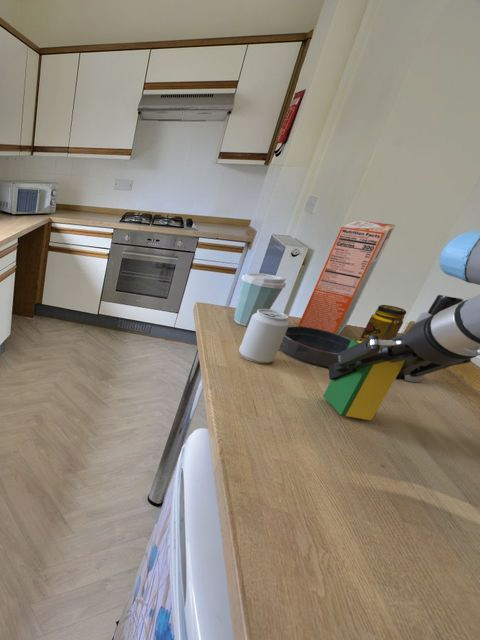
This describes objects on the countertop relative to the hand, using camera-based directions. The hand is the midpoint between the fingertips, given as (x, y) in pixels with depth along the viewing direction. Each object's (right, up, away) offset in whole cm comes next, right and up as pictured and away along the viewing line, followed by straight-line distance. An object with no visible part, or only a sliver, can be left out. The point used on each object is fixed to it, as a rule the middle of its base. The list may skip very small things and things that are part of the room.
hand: (347, 375), depth 82 cm
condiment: (+32, +4, +27) cm, 42 cm away
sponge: (-1, -6, -1) cm, 7 cm away
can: (-5, +3, +19) cm, 20 cm away
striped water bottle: (+26, -1, +14) cm, 30 cm away
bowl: (+13, +4, +23) cm, 27 cm away
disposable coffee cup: (+7, +12, +40) cm, 42 cm away
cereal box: (+27, +10, +38) cm, 47 cm away
